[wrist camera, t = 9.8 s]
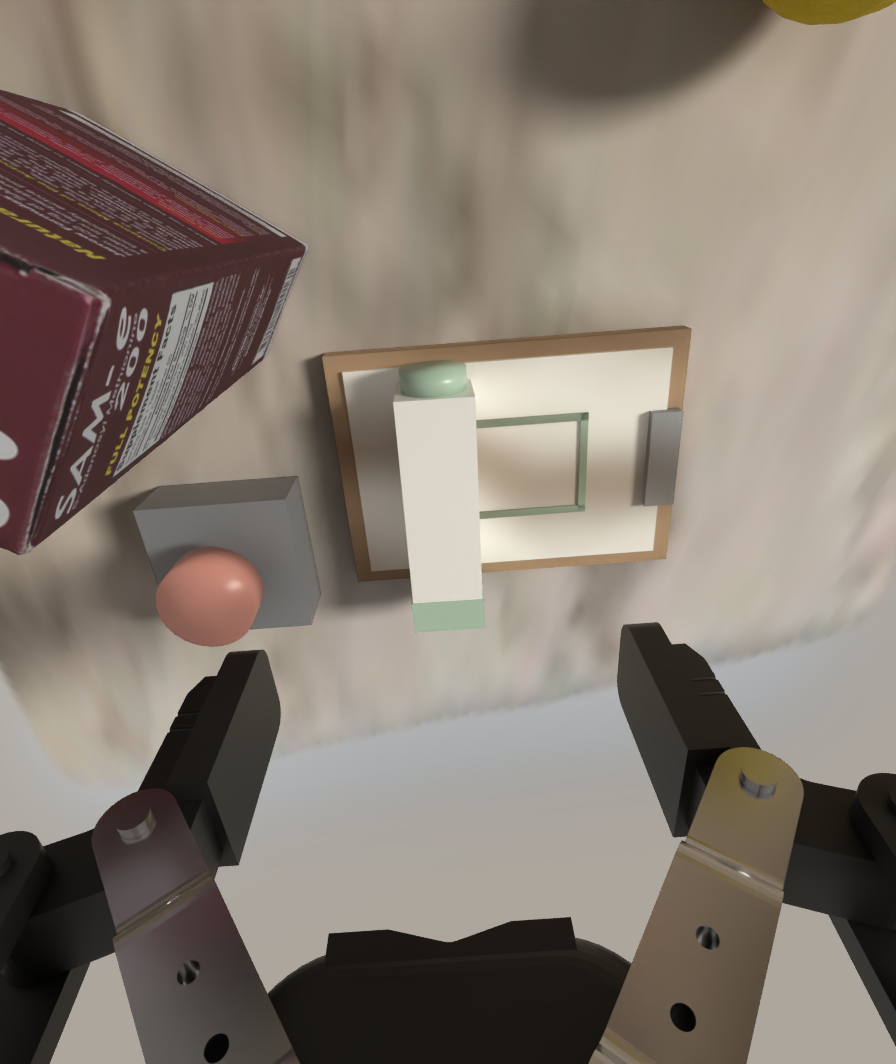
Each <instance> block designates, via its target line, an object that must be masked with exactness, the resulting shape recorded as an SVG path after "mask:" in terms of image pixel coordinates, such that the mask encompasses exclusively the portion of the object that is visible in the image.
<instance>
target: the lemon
mask: <svg viewBox="0 0 896 1064" xmlns="http://www.w3.org/2000/svg"><path fill="white" fill-rule="evenodd" d="M763 2H764V3H765V4H766V5H767V6H768V7H770V8H771V9H772V10H774V11H775V12H776V13H778V14H779V15H780V16H782V17H784V18H786V19H789V20H793V21H796V22H799V23H803V24H808V25H818V24H837V23H843V22H847V21H850V20H853V19H856V18H859V17H862V16H865V15H868V14H870V13H873V12H876V11H879V10H881V9H883V8H886V7H888V6H889V5H891V4H893V3H894V2H896V0H763Z"/></svg>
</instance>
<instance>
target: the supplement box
mask: <svg viewBox="0 0 896 1064" xmlns="http://www.w3.org/2000/svg"><path fill="white" fill-rule="evenodd" d="M307 251H308V245H307V244H306V243H304V242H302V241H301V240H299V239H297V238H296V237H294V236H292V235H290V234H289V233H287V232H285V231H284V230H282V229H280V228H278V227H277V226H275V225H273V224H271V223H270V222H268V221H266V220H265V219H263V218H261V217H259V216H258V215H256V214H254V213H252V212H251V211H249V210H247V209H245V208H244V207H242V206H240V205H239V204H237V203H235V202H233V201H232V200H230V199H228V198H226V197H225V196H223V195H221V194H219V193H218V192H216V191H214V190H212V189H211V188H209V187H207V186H206V185H204V184H202V183H200V182H199V181H197V180H195V179H193V178H192V177H190V176H188V175H186V174H185V173H183V172H181V171H179V170H178V169H176V168H174V167H172V166H171V165H169V164H167V163H166V162H164V161H162V160H160V159H159V158H157V157H155V156H154V155H152V154H150V153H148V152H147V151H145V150H143V149H142V148H140V147H138V146H136V145H135V144H133V143H131V142H129V141H128V140H126V139H124V138H122V137H121V136H119V135H117V134H115V133H114V132H112V131H110V130H108V129H107V128H105V127H103V126H101V125H100V124H98V123H96V122H94V121H92V120H91V119H89V118H87V117H85V116H84V115H82V114H80V113H78V112H75V111H72V110H69V109H65V108H61V107H57V106H54V105H50V104H47V103H44V102H41V101H38V100H34V99H30V98H27V97H23V96H20V95H17V94H13V93H10V92H6V91H3V90H0V548H4V549H7V550H9V551H11V552H13V553H15V554H17V555H22V554H26V553H28V552H30V551H31V550H32V549H33V548H34V547H36V546H37V545H38V544H39V543H41V542H42V541H43V540H45V539H46V538H47V537H48V536H50V535H51V534H52V533H53V532H54V531H56V530H57V529H58V528H59V527H61V526H62V525H63V524H64V523H66V522H67V521H68V520H69V519H70V518H72V517H73V516H74V515H75V514H76V513H78V512H79V511H80V510H81V509H83V508H84V507H85V506H86V505H88V504H89V503H90V502H91V501H92V500H94V499H95V498H96V497H97V496H98V495H100V494H101V493H102V492H103V491H104V490H106V489H107V488H108V487H109V486H111V485H112V484H113V483H115V482H116V481H117V480H118V479H119V478H120V477H121V476H123V475H124V474H125V473H126V472H128V471H129V470H130V469H131V468H132V467H133V466H135V465H136V464H137V463H138V462H140V461H141V460H142V459H143V458H144V457H146V456H147V455H148V454H149V453H150V452H152V451H153V450H154V449H155V448H156V447H158V446H159V445H161V444H162V443H163V442H164V441H166V440H167V439H168V438H169V437H170V436H171V435H173V434H174V433H175V432H176V431H177V430H178V429H179V428H180V427H182V426H183V425H184V424H185V423H187V422H188V421H189V420H190V419H191V418H193V417H194V416H195V415H196V414H197V413H199V412H200V411H201V410H203V409H204V408H205V407H206V406H207V405H208V404H209V403H211V402H212V401H213V400H214V399H215V398H217V397H218V396H219V395H220V394H221V393H223V392H224V391H225V390H227V389H228V388H229V387H230V386H231V385H233V384H234V383H235V382H236V381H237V380H238V379H240V378H241V377H242V376H244V375H245V374H246V373H247V372H249V371H250V370H251V369H252V368H253V367H255V366H256V365H257V364H258V363H259V362H261V361H262V360H263V359H264V358H265V357H266V356H267V354H268V351H269V349H270V346H271V343H272V340H273V337H274V335H275V332H276V329H277V326H278V323H279V320H280V318H281V315H282V312H283V310H284V307H285V304H286V302H287V299H288V297H289V294H290V291H291V289H292V287H293V284H294V282H295V279H296V277H297V274H298V272H299V269H300V267H301V264H302V261H303V259H304V257H305V255H306V253H307Z"/></svg>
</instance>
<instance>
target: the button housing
mask: <svg viewBox="0 0 896 1064" xmlns="http://www.w3.org/2000/svg"><path fill="white" fill-rule="evenodd" d="M133 513H134V516H135V519H136V522H137V525H138V528H139V531H140V534H141V536H142V539H143V542H144V545H145V548H146V551H147V554H148V557H149V560H150V563H151V566H152V569H153V572H154V575H155V577H156V580H157V583H158V586H159V585H160V583H161V581H162V580H163V579H164V577H165V576H166V575H167V574H168V572H169V571H170V570H171V568H172V567H173V566H174V564H175V563H176V562H177V561H178V559H179V558H180V557H181V556H183V555H184V554H185V553H187V552H189V551H191V550H193V549H196V548H200V547H212V546H213V547H221V548H225V549H229V550H232V551H234V552H236V553H238V554H240V555H241V556H243V557H244V558H246V559H247V560H248V561H249V562H250V563H252V564H253V566H254V567H255V568H256V569H257V571H258V572H259V574H260V576H261V578H262V581H263V586H264V596H263V600H262V603H261V605H260V608H259V610H258V612H257V614H256V616H255V619H254V621H253V623H252V625H251V627H250V629H263V628H277V627H290V626H304V625H312V622H313V619H314V615H315V612H316V609H317V605H318V602H319V599H320V595H321V592H320V587H319V582H318V576H317V571H316V566H315V561H314V556H313V551H312V546H311V541H310V536H309V531H308V526H307V521H306V515H305V510H304V505H303V500H302V495H301V490H300V485H299V480H298V476H291V477H278V478H265V479H251V480H238V481H225V482H211V483H198V484H185V485H171V486H159V487H158V488H156V489H155V490H154V491H153V492H152V493H151V494H150V495H149V496H148V497H147V498H146V499H145V500H144V501H143V502H142V503H141V504H140V505H138V506H137V507H136V508H135V509H134V510H133Z"/></svg>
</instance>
